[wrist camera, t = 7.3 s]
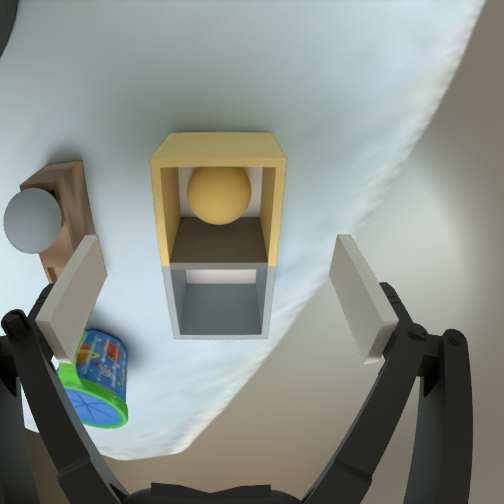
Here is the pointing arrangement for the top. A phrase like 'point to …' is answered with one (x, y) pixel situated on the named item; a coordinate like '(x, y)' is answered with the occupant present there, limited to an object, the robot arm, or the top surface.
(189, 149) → the tube block
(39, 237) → the slate ball
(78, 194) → the rack
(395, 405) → the robot arm
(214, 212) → the ochre ball
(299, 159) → the top surface
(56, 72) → the top surface
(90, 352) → the snack cup
